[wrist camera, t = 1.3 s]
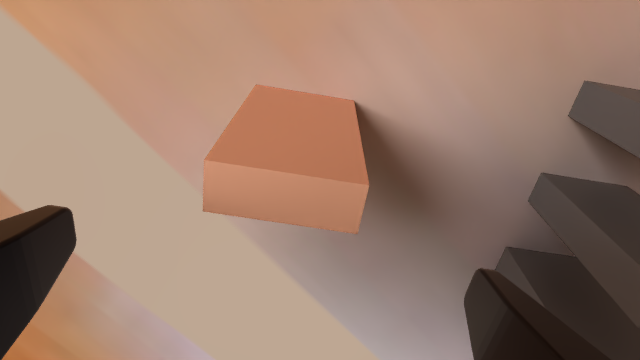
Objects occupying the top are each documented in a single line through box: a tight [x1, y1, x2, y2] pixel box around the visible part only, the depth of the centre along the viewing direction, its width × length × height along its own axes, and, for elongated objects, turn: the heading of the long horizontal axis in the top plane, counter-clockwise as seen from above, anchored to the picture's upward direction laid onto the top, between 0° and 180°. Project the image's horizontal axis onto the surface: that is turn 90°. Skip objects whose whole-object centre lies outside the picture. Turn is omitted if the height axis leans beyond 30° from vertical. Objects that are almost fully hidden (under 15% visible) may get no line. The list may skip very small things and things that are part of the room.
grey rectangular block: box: [528, 173, 640, 328], centre depth 16 cm, size 2×4×8 cm, turn 81°
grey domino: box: [495, 247, 640, 360], centre depth 18 cm, size 2×4×8 cm, turn 81°
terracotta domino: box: [203, 85, 369, 234], centre depth 14 cm, size 2×4×8 cm, turn 81°
